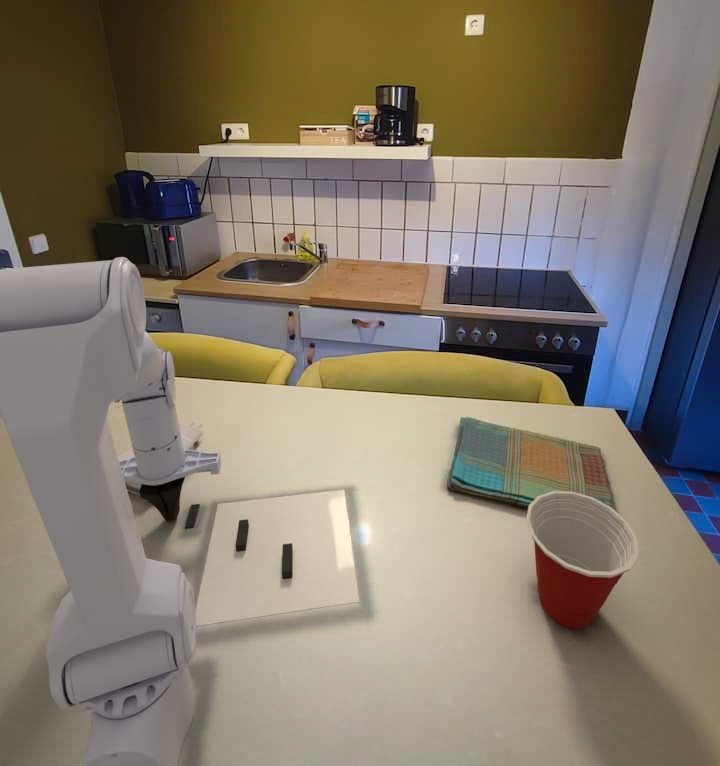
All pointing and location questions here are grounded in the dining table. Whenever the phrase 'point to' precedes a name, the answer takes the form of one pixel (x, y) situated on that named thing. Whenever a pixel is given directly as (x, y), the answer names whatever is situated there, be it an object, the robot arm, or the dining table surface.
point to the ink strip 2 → (242, 535)
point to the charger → (188, 440)
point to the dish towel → (523, 465)
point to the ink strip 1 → (192, 516)
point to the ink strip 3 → (287, 561)
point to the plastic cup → (578, 554)
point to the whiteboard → (278, 558)
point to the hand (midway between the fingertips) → (172, 515)
